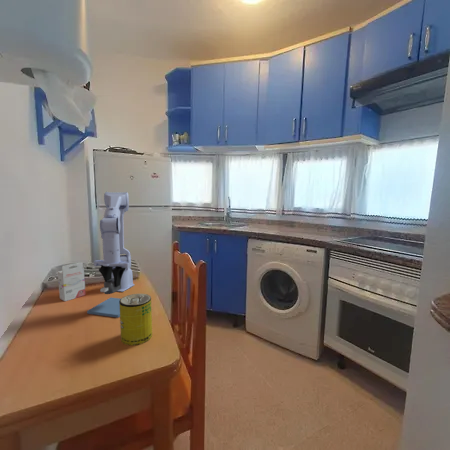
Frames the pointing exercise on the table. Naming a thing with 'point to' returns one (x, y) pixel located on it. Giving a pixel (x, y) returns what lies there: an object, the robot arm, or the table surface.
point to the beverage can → (135, 319)
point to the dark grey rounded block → (110, 287)
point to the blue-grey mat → (107, 308)
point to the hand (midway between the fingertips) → (113, 285)
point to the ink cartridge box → (71, 282)
